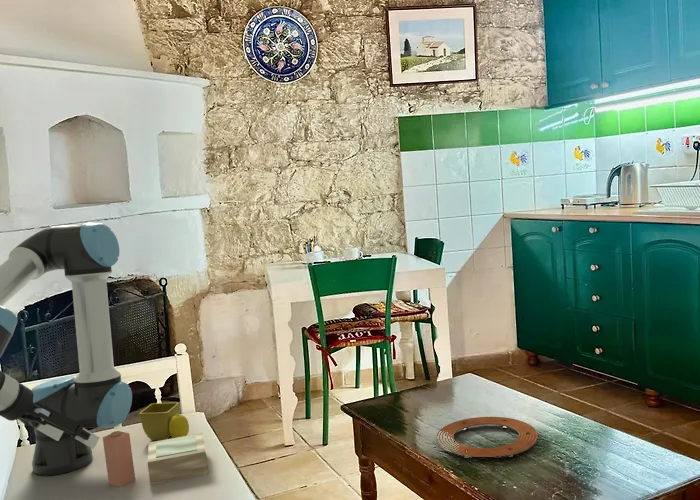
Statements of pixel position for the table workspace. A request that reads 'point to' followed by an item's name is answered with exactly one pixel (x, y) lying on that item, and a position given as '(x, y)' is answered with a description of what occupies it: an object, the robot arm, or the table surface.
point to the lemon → (178, 426)
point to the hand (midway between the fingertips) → (77, 439)
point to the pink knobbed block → (119, 458)
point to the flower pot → (158, 419)
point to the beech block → (176, 458)
